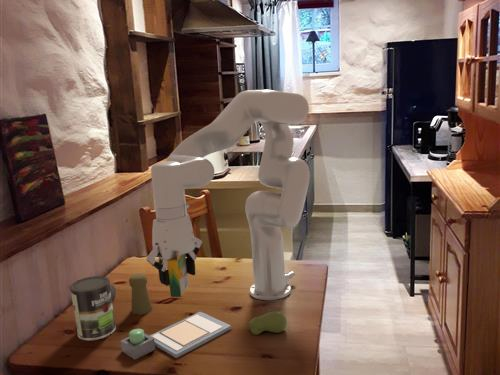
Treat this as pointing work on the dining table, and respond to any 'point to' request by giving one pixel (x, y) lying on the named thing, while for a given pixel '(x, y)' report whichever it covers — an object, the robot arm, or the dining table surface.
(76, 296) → the coffee can
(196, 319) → the grey white rectangular board
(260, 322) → the pear
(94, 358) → the dining table surface
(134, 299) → the cork
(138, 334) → the button
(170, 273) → the crayon box
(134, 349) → the button housing
